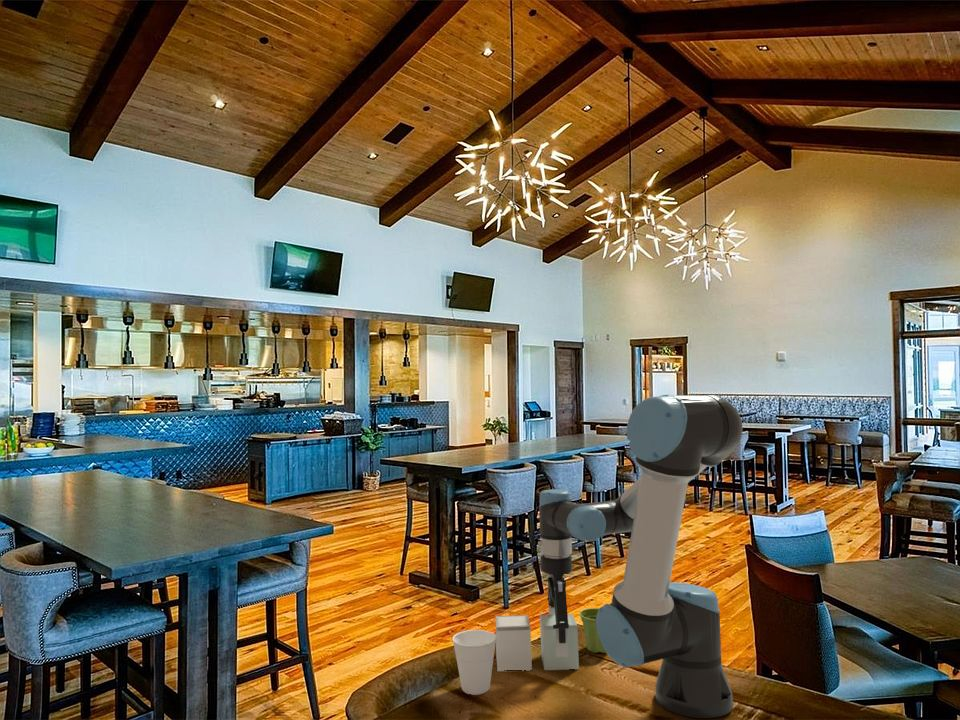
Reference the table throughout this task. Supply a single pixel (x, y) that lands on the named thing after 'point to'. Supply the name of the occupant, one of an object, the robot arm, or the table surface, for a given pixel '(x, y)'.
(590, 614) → the plant pot
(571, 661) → the sage cover
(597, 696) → the table surface
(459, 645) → the cup
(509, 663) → the white cover
